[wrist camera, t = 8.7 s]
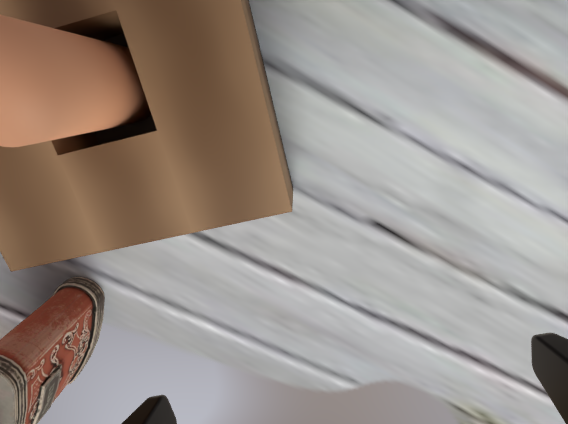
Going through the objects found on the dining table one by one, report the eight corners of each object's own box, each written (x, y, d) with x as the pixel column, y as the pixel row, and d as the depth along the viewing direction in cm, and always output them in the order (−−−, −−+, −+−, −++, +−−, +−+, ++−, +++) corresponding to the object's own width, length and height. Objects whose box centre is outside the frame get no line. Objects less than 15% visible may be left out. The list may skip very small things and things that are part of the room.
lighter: (84, 382, 24) (-51, 565, 15) (36, 365, 24) (-133, 540, 15) (114, 289, 22) (-24, 436, 13) (61, 268, 22) (-122, 404, 12)
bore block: (220, -119, 15) (195, -188, 12) (293, 188, 20) (292, 211, 16) (-62, -28, 17) (-166, -62, 13) (62, 239, 21) (10, 271, 17)
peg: (170, 113, 18) (81, 130, 10) (105, 131, 18) (-28, 159, 11) (144, 37, 17) (23, -7, 9) (75, 57, 17) (-96, 32, 10)
